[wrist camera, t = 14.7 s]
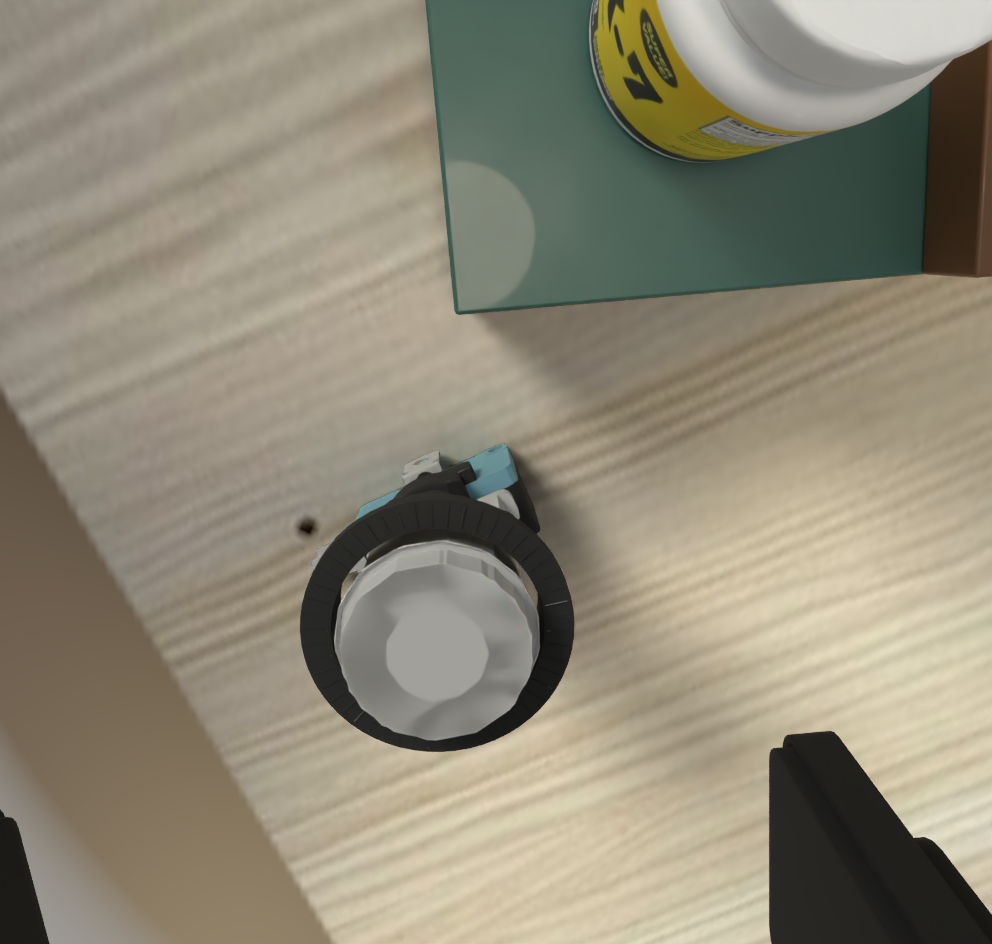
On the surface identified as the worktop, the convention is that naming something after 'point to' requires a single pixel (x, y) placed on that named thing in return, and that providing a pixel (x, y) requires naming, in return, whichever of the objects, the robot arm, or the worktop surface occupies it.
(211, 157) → the worktop surface
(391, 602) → the push button
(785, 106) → the supplement bottle
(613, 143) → the shelf
